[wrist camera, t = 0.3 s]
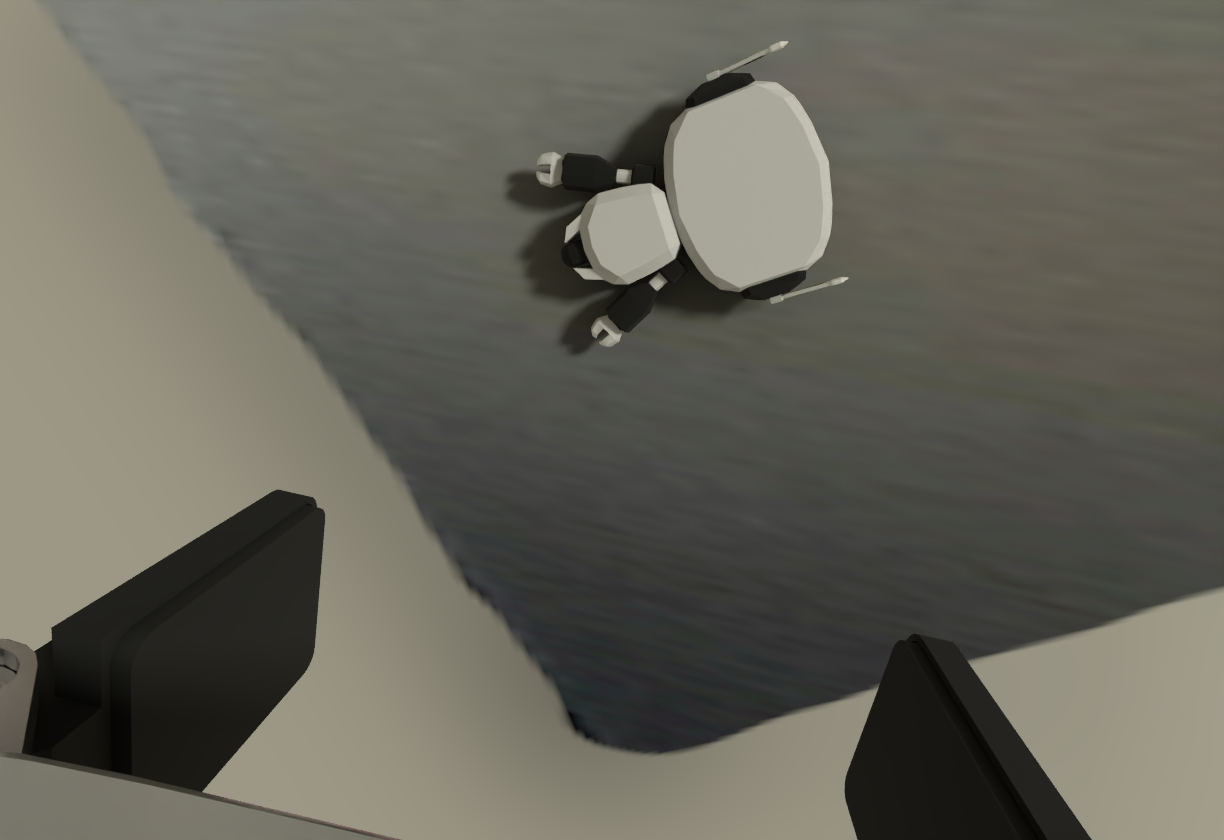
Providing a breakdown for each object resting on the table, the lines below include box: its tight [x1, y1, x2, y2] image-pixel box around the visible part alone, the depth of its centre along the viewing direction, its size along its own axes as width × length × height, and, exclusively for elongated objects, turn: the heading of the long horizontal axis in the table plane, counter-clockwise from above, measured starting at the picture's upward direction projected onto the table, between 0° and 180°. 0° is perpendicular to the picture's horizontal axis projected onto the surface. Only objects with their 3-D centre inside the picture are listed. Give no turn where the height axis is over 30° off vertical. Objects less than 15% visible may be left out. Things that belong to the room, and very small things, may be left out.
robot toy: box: [536, 41, 848, 347], centre depth 36 cm, size 12×4×15 cm
